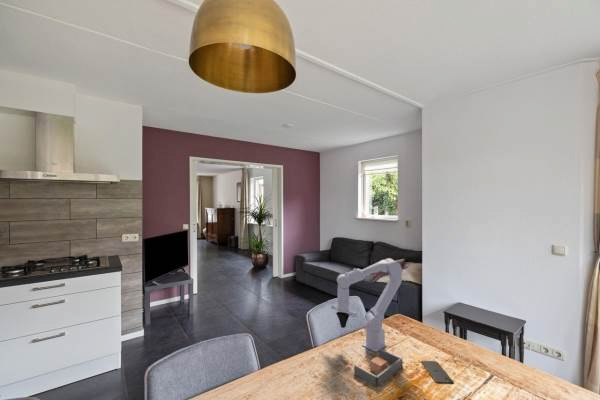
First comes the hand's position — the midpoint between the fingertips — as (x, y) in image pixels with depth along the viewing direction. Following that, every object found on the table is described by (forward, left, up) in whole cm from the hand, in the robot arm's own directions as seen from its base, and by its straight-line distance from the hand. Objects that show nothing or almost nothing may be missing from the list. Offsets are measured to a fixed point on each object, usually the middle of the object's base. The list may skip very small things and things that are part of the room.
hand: (343, 326), depth 133 cm
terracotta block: (+4, +22, -10) cm, 25 cm away
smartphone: (-13, +39, -10) cm, 42 cm away
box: (+4, +22, -9) cm, 25 cm away
